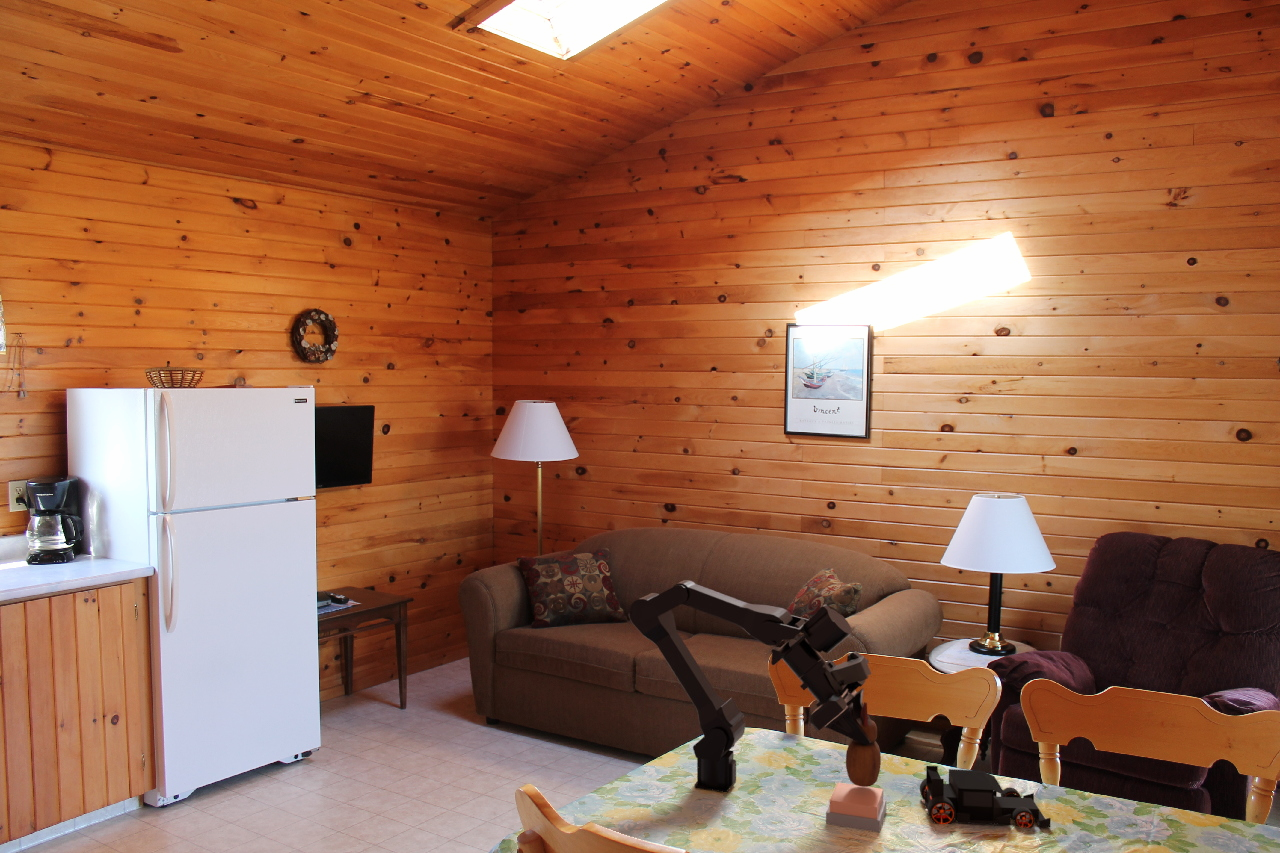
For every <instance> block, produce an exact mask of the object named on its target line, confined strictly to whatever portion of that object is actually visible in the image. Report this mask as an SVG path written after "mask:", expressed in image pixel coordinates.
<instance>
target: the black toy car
mask: <svg viewBox="0 0 1280 853" xmlns="http://www.w3.org/2000/svg"><path fill="white" fill-rule="evenodd" d="M938 768H939V766H938V765H926V769H925V770H926V771H925V772H926V774H925V775H926V777H925V778H924V779H923V780H922V781H921V783H920V785H919V791H920V795H921V797H922V799H921V801H922V804H924V805H925V811H926V813H927V814H928V816H929V817H930V818H929V819H930V820H931V821H932V822H933V823H934V824H936V825H948V826H949V825H951V824H952V823H954V821H956V823H960V824H976V825H977V824H981V825H982V824H983V825H997V826H998V825H999V826H1001V825H1002V826H1011V819H1012V820H1013V822H1014V823H1015V825H1016V827H1018V828H1026V829H1027V828H1029V829H1031V828H1033V827H1034V824H1035V822H1036V824H1037V825H1038V826H1039V828H1051V817H1048V818H1046V817H1045V815H1044V814H1043V813H1042V811H1041V810H1040V808H1039V807H1038V805H1037V804H1036V802H1035V800H1034V799H1035V798H1034V797H1035V794H1034V792H1033V793H1030V794H1024V795H1023V796H1021V794H1020V792H1019V791H1018V790H1017V789H1016V788H1015V787H1006V788H1004V789H1003V788H1002V787H1001V785H1000V783H999V782H998V780H997V779H996V777H995V776H994V775H993V774H990V773H989V772H986V771H984V770H978V769H977V770H975V769H973V770H972V769H954V768H953V769H950V768H949V769H948V783H944V781H945V780H944V778H942V777H941V775H940V773H939V772H938V770H939V769H938ZM997 793H998V794H1000V796H997V795H998V794H997Z"/></svg>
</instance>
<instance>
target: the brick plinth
mask: <svg viewBox="0 0 1280 853" xmlns="http://www.w3.org/2000/svg"><path fill="white" fill-rule="evenodd" d="M832 791H833V792H832V794H831V796H830V798H829V804H828V807H827V809H826V812H825V824H826V825H830V826H831V825H832V826H838V827H844V828H851V829H856V830H861V831H862V830H863V831H867V832H869V831H870V832H873V833H874V832H875V833H881V828H882V826H883V824H884V823H883V822H884V820H885V816H886V812H887V799H885V798H884V788H880V787H874V786H868V787H862V786H857V785H855V784H853V783H852V784H851V783H845V782H844V783H843V782H840V781H839V782H836V784H835V787H834V789H833V790H832Z"/></svg>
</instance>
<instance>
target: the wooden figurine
mask: <svg viewBox="0 0 1280 853" xmlns="http://www.w3.org/2000/svg"><path fill="white" fill-rule="evenodd" d="M863 705H864V706H863V707H862V709H861V716H860V718H858V719H856V720H857V722H858V723H859V725H860V726H861V728H862V729H863V730H864V732H865V733H866V735H867V737H868V738H869V740H870V743H869V744H868V745H867V746H865V745H863V744H861V743H859V742H857V741H855V740H853V739H852V740H851V741H850V742H849V744H848V746H847V750H846V754H845V767H846V772H847V776H848V779H849V781H850V782H851V783H852V784H853V785H857V786H862V787H872V786H874V785H875V783H877V781H878V778H879V774H880V771H881V762H882V756H881V754H882V753H881V749H880V746H879V744H878V742H877V741H876V740H877V737H878V727H877V724H876V723H875V721H874V720H872V719H871V718H870V719H871V720H870V719H868V717H867V713H868V702H866V701H864V702H863Z"/></svg>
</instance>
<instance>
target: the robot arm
mask: <svg viewBox="0 0 1280 853" xmlns="http://www.w3.org/2000/svg"><path fill="white" fill-rule="evenodd" d="M681 605H683V606H687V607H689V608H692V609H695V610H698V611H700V612H702V613H705V614H707V615H710V616H712V617H715V618H718V619H719V620H720V619H721V620H723V621H725V622H728V623H731V624H732V625H733V624H734V625H736V626H738V627H740V628H741V629H743V630H744V631H745V633H747V634H748V635H749V636H750V637H752V638H753V639H755V640H757V641H759V642H761V643H762V644H764V645H766V646H771V647H772V646H774V647H773V648H772V649H771V650H770V651H771V661H770V664H771V665H772V666H775V665H777V663H779V662H780V661H781V660H782V661H783V662H784V663H785V664H786V665H787V666H788V668H789V669H790V670H791V671H792V672H793V673H794V675H795V676H796V677H797V679H798V680H800V682H801V684H800V685H799V687H800V688H801V689H802V690H803V691H805V690H808V692H810V694H811V695H812V696H813V697H814V698H815V700H817V702H816V704H815V705H816V707H817V708H815V709H814V711H813V712H812V713H811V714H810V724H811V725H812V726H813V728H814V729H815V731H817V732H819V731H821V729H823V728H825V729H826V730H827V729H829V730H831V731H833V732H836V733H838V734H841V735H843V736H845V737H847V738H849V739H852V740H855V741H857V742H859V743H861V744H863V745H865V746H867V745H868V744H869V743H870V740H869V738H868V737H867V735H866V733H865V732H864V730H863V729H862V728H861V726H860V725H859V723H858V722H857V720H856V719H858V718H860V716H861V709H862V707H863V706H864V702H863V698H864V687H863V688H861V689H860V690H858V692H857V691H856V690H857V689H858V688H860V687H862V686H863V685H864V684H865V682H866V680H867V679H868V678H869V675H871V674H872V671H871V669H870V667H869V665H868V664H869V663H870V662H869V659H867V658H866V657H865V655H862V654H860V653H859V652H858V651H856V650H855V651H852V652H850V653H848V655H847V656H846V661H843V662H842V663H840V664H835V662H834V661H833V660H830V659H828V660H827V661H826V660H825V659H824V658H823V656H822V655H821V653H822V652H823V653H826V654H829V653H830V652H831V651H833V650H834V649H835V648H836V647H837V646H838V645H840V644H841V643H843V641H845V639H847V638H848V637H849V636H851V635H852V634H853V628H852V627H851V625H850V623H849V622H848V620H847V619H846V618H845V617H844V616H843V615H842V614H840V613H839V612H837V611H836V610H834V609H833V608H830V607H829V605H828V604H823V605H822V606H820V608H819V609H818V610H817V611H816V613H814V614H813V615H812V616H811V617H810V618H809V619H808V618H804V617H800V616H797V615H794V614H791V612H790V611H788V610H787V609H786V608H783V607H778V606H774V605H773V606H772V605H768V604H755V603H754V604H752V603H748V602H746V601H743V600H740V599H737V598H735V597H732V596H729V595H726V594H723V593H721V592H718V591H715V590H713V589H710V588H708V587H705V586H702V585H700V584H697V583H695V581H692V580H690V579H689V580H688V579H685V580H682V581H680V582H678V583H676V584H674V585H673V586H672V587H670V588H669V589H666V590H665V591H663V592H661V593H656V592H651V593H649V594H647V595H645V596H643V597H640V598H638V599H636V600H634V601H633V602H632V603H631V604H630V607H629V612H628V618H629V620H630V622H631V623H632V625H633V626H634V627H635V628H636V629H637V631H638V632H639V633H640V634H641V635H642V636H643V637H645V639H648V640H649V641H650V642H652V643H653V644H654V645H655V646H656V647H657V650H659V652H660V653H661V655H662V656H663V658H664V660H665V662H666V663H667V665H668V666H669V667H670V669H671V671H672V673H673V674H674V676H675V677H676V679H677V680H678V682H679V683H680V685H681V687H682V688H683V691H684V692H685V693H686V694H687V696H688V697H689V699H690V700H691V703H692V705H693V706H694V707H695V709H696V711H697V717H698V722H699V723H698V724H699V727H700V730H701V732H702V734H703V737H702V738H701V739H700V740H699V741H697V742H696V743H695V744H694V745H693V746H692V749H693V753H694V755H695V758H696V759H697V760H696V762H697V763H696V764H697V765H696V767H697V769H696V771H697V772H696V773H697V774H696V776H697V781H696V782H695V783H694V784H693V785H694V788H695V789H701V790H708V791H714V792H720V793H728V792H729V791H730V789H731V788H732V787H733V786H734V784H736V782H737V760H736V759H734V750H731V749H732V748H734V747H735V746H736V745H735V744H736V743H737V742H738V741H740V739H741V738H743V736H744V734H745V730H746V723H745V720H744V716H745V714H744V713H743V712H741V711H740V709H739V708H738V706H737V703H736V701H735V700H734V699H733V697H730V698H729V699H728V700H726V699H724V698H723V697H721V696H719V695H718V693H716V690H715V689H714V687H713V686H712V684H711V683H710V681H709V680H708V679H707V676H706V675H705V673H704V672H703V670H702V669H701V667H700V665H699V664H698V663H697V661H696V658H694V656H693V655H692V653H691V652H690V650H689V648H688V647H687V645H686V644H685V642H684V641H683V640H684V639H682V638H681V635H680V634H679V633H678V630H677V627H676V621H675V620H676V619H675V615H674V613H673V609H675V608H677V607H679V606H681ZM801 633H802V634H803V635H802V637H800V639H798V640H796V637H797V636H798V635H800V634H801ZM783 641H786V642H785V643H784V644H783V645H782V646H781V647H779V646H778V647H777V645H779V644H780V643H782V642H783ZM867 717H868V719H870V720H872V719H871V717H870V715H869V713H868V712H867Z"/></svg>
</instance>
